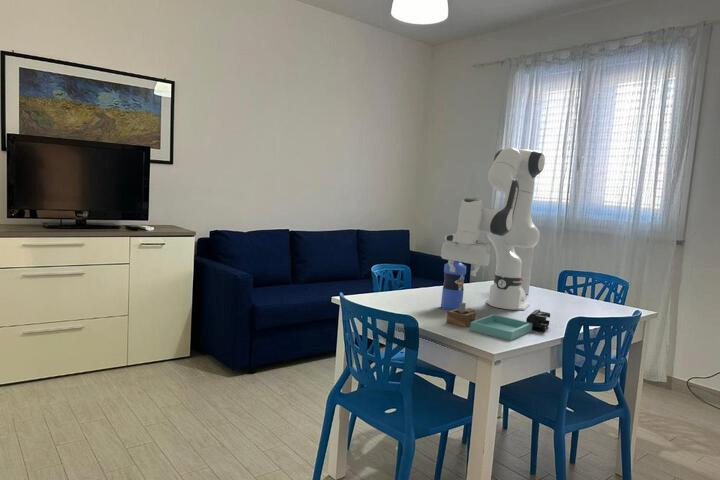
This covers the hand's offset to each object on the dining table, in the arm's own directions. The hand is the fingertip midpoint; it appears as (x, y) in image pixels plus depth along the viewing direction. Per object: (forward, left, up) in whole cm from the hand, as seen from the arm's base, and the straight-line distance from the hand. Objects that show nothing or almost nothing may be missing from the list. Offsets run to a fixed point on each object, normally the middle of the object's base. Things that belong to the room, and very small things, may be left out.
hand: (462, 273), depth 205 cm
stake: (+3, +3, -19) cm, 19 cm away
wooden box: (+1, +3, -19) cm, 19 cm away
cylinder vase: (-83, -9, -19) cm, 86 cm away
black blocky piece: (-17, +26, -19) cm, 36 cm away
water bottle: (-17, -12, -19) cm, 28 cm away
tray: (-1, +18, -19) cm, 26 cm away
